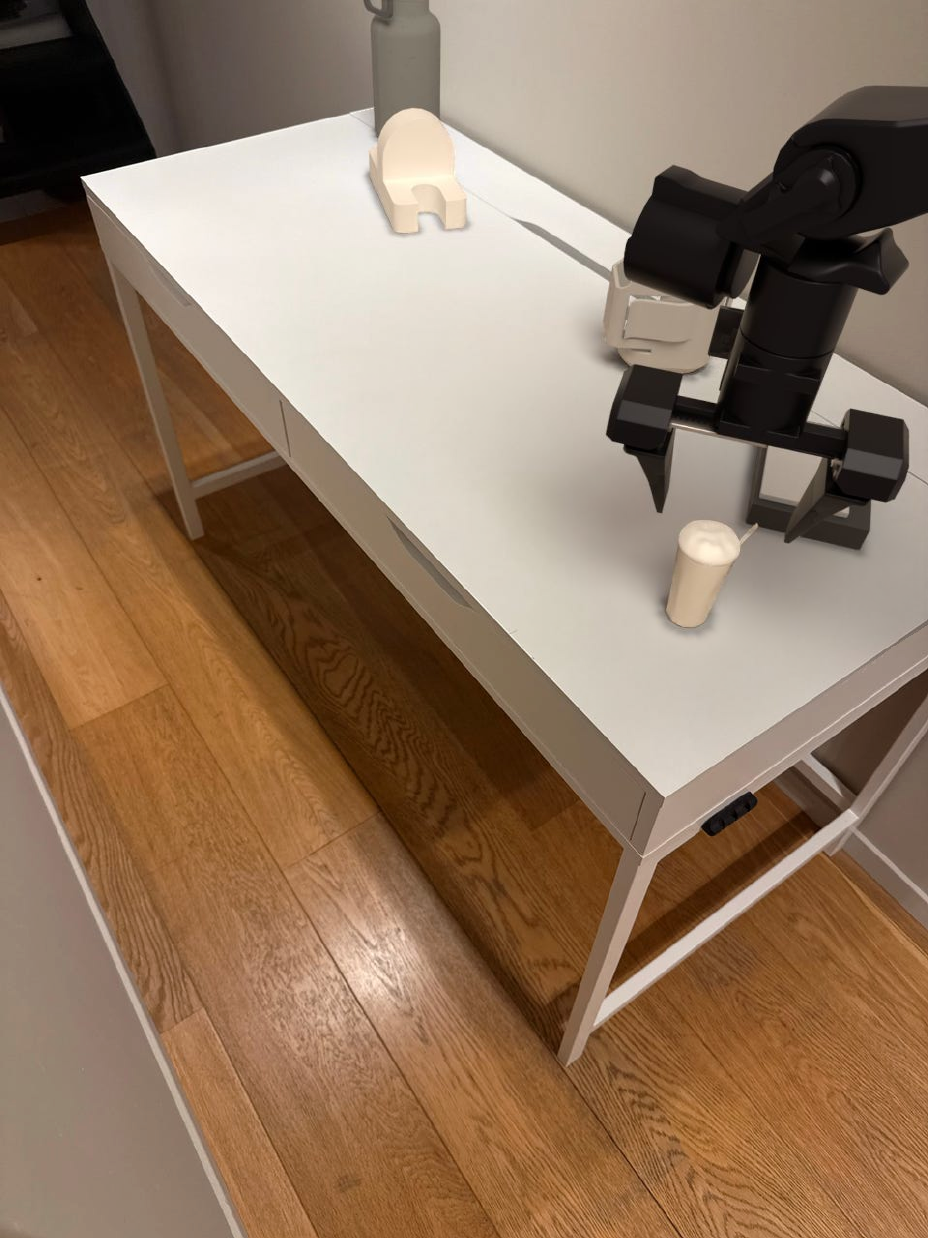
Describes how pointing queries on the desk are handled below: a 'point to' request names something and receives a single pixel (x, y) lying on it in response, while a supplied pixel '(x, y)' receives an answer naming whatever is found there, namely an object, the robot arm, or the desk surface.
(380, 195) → the white slotted holder
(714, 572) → the milkshake
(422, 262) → the desk surface
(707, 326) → the cable organizer
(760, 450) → the scale
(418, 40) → the water bottle
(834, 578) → the desk surface
